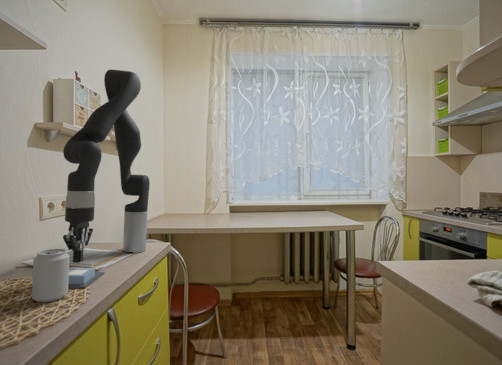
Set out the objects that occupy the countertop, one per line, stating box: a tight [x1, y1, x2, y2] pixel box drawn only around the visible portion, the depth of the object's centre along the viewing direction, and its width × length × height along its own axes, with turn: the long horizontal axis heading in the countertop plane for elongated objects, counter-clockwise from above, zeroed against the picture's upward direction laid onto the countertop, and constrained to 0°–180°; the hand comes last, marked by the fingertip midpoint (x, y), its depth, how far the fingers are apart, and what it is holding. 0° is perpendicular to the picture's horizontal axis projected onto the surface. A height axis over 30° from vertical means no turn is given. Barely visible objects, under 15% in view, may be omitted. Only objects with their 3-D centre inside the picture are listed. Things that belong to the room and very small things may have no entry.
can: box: [31, 248, 71, 303], centre depth 69 cm, size 8×8×12 cm
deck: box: [68, 268, 96, 284], centre depth 79 cm, size 2×9×6 cm
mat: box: [68, 271, 105, 289], centre depth 80 cm, size 12×14×1 cm
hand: (77, 261), depth 82 cm, fingers closed
